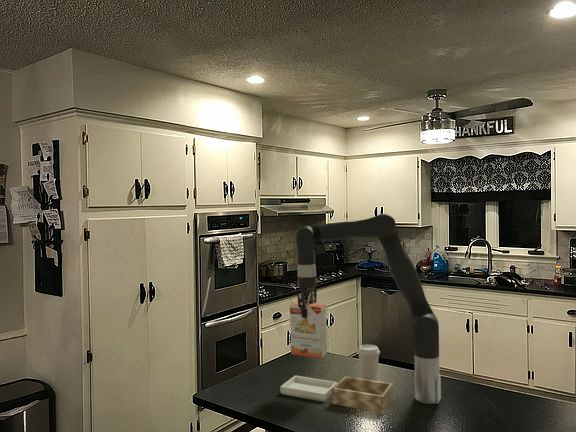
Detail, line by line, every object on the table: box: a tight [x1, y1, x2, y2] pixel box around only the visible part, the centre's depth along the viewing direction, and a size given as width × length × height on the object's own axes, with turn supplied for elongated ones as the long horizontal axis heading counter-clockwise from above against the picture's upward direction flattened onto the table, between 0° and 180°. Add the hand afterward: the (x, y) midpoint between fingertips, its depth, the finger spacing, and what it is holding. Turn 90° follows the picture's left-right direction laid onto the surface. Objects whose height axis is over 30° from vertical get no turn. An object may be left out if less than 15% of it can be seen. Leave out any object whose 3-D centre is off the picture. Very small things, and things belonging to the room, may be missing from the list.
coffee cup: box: [357, 344, 381, 381], centre depth 203 cm, size 10×10×15 cm
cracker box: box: [289, 301, 328, 359], centre depth 193 cm, size 14×6×21 cm, turn 62°
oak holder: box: [331, 376, 395, 414], centre depth 183 cm, size 20×14×6 cm
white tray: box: [279, 375, 339, 403], centre depth 194 cm, size 20×14×3 cm
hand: (308, 316), depth 193 cm, fingers closed on cracker box, 6 cm apart
